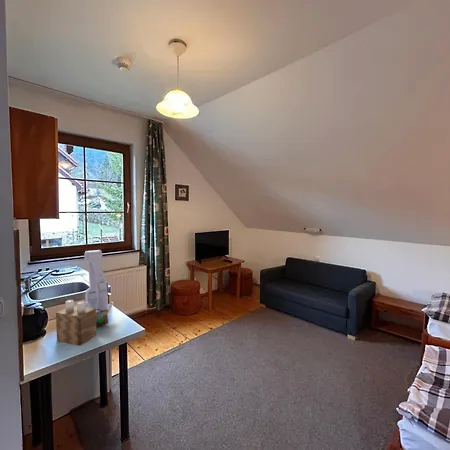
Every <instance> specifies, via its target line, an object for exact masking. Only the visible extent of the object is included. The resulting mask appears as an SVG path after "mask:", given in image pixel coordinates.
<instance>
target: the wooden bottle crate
mask: <svg viewBox="0 0 450 450" xmlns="http://www.w3.org/2000/svg"><path fill="white" fill-rule="evenodd" d="M55 326H56V342H60V343H65V344H68V345H73V346H77V347H78V346H79V347H81V346H82V345H84V344H86V343H87V342H89V341H90V340H92V339H93V338H96V336H97V327H96V308H89V307H85V312H84V313H77V304H74V310H72V311H66V307H65V308H63V309H60V310H59V311H56V313H55Z"/></svg>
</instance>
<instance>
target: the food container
mask: <svg viewBox="0 0 450 450" xmlns="http://www.w3.org/2000/svg"><path fill="white" fill-rule="evenodd" d="M91 308H92V307H91ZM96 310H98V311H99V312H98V313H96V328H101V327H104V326H106V325H108V324H109V317H108V313H109V311H108V312H107V310H106V311H103V310H101V311H100V309H96Z"/></svg>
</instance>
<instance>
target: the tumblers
mask: <svg viewBox="0 0 450 450" xmlns="http://www.w3.org/2000/svg"><path fill="white" fill-rule="evenodd" d="M74 302H75V301H74V299H67V300H66V301H65V308H66V311H72V310H74V305H75V303H74ZM85 303H86V301H79V302H76V305H77V313H84V312H85Z"/></svg>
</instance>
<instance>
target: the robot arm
mask: <svg viewBox="0 0 450 450" xmlns="http://www.w3.org/2000/svg"><path fill="white" fill-rule="evenodd" d="M102 252H103V251H102V250H101V249H97V250H95V249H94V250H85V252H84V255H83V256H84V262H85V263H86V264H87V266H88V278H89V279H88V280H89V287H88V288H87V289H86V290H85V294H84V295H85V297H84V298H85V307H89V308H91V307H92V308H96V309H100V311H101V310H103V311H106V310H107V312H108V313H109V308H112V306H113V305H112V303H108V291H109V284H108V283H109V282H108V281H107V279H106V276H105V273H104V271H102V269H101V268H102V267H101V261H102V258H103V253H102ZM98 312H99V311H98V310H96V313H98Z"/></svg>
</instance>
